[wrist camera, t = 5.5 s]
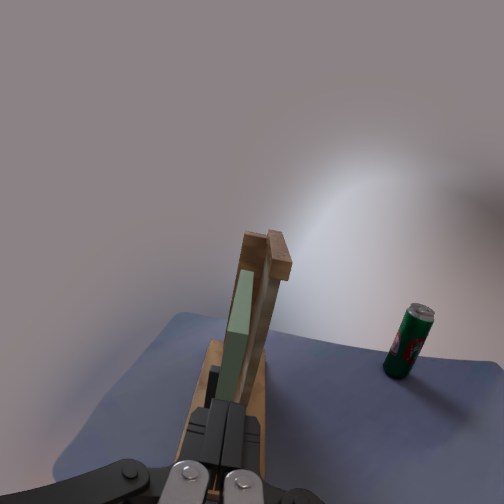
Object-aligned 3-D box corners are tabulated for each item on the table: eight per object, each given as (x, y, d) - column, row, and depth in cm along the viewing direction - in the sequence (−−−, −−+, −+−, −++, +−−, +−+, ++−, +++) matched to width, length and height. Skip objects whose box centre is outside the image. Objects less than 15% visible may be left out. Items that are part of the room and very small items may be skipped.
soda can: (383, 360, 44) (409, 299, 41) (408, 369, 42) (435, 308, 39) (379, 374, 40) (408, 308, 37) (406, 384, 38) (437, 319, 35)
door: (194, 465, 19) (214, 328, 15) (211, 389, 30) (233, 267, 26) (216, 470, 19) (248, 334, 15) (228, 392, 30) (254, 271, 26)
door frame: (168, 490, 17) (173, 299, 12) (209, 347, 41) (231, 219, 36) (261, 506, 17) (349, 331, 12) (262, 357, 41) (294, 231, 36)
